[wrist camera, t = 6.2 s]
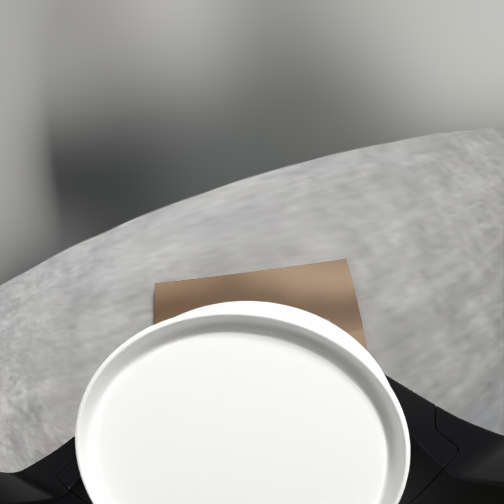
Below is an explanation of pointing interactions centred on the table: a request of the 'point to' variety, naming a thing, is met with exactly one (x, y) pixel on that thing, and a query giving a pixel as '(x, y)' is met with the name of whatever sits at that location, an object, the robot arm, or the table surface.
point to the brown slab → (271, 293)
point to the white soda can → (242, 414)
